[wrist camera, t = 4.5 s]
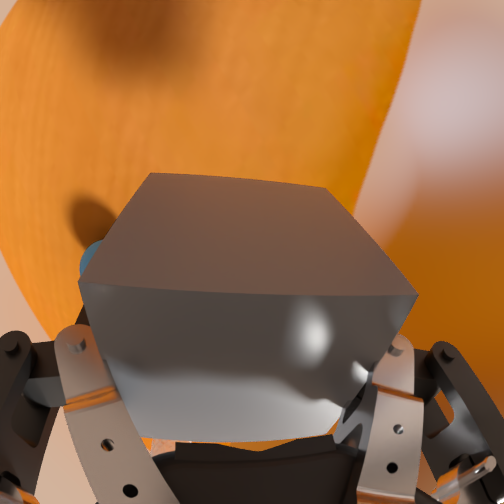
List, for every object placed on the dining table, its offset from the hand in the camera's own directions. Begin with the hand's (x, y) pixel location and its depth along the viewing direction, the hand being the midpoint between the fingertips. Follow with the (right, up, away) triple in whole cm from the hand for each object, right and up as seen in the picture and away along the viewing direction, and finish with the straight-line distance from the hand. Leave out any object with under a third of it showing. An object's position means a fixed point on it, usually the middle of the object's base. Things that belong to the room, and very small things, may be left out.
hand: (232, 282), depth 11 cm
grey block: (0, +1, +2) cm, 2 cm away
